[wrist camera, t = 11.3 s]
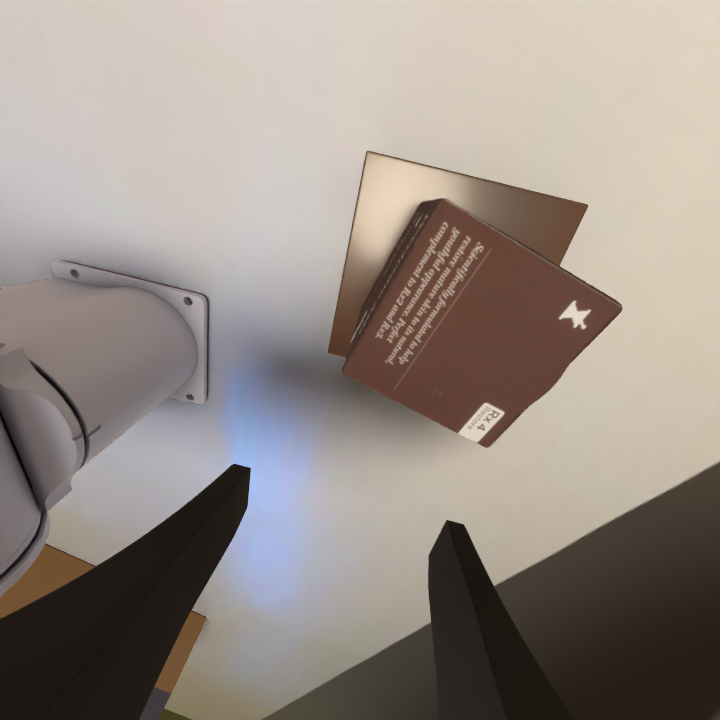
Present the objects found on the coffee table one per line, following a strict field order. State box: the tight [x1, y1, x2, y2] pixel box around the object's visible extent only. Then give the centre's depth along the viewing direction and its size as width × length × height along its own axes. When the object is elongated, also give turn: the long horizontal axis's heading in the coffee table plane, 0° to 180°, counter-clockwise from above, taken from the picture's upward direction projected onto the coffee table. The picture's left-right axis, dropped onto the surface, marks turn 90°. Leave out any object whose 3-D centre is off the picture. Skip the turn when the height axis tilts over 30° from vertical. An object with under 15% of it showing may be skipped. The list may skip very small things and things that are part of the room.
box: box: [342, 198, 622, 448], centre depth 13 cm, size 6×6×7 cm
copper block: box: [328, 151, 588, 357], centre depth 17 cm, size 10×10×2 cm
